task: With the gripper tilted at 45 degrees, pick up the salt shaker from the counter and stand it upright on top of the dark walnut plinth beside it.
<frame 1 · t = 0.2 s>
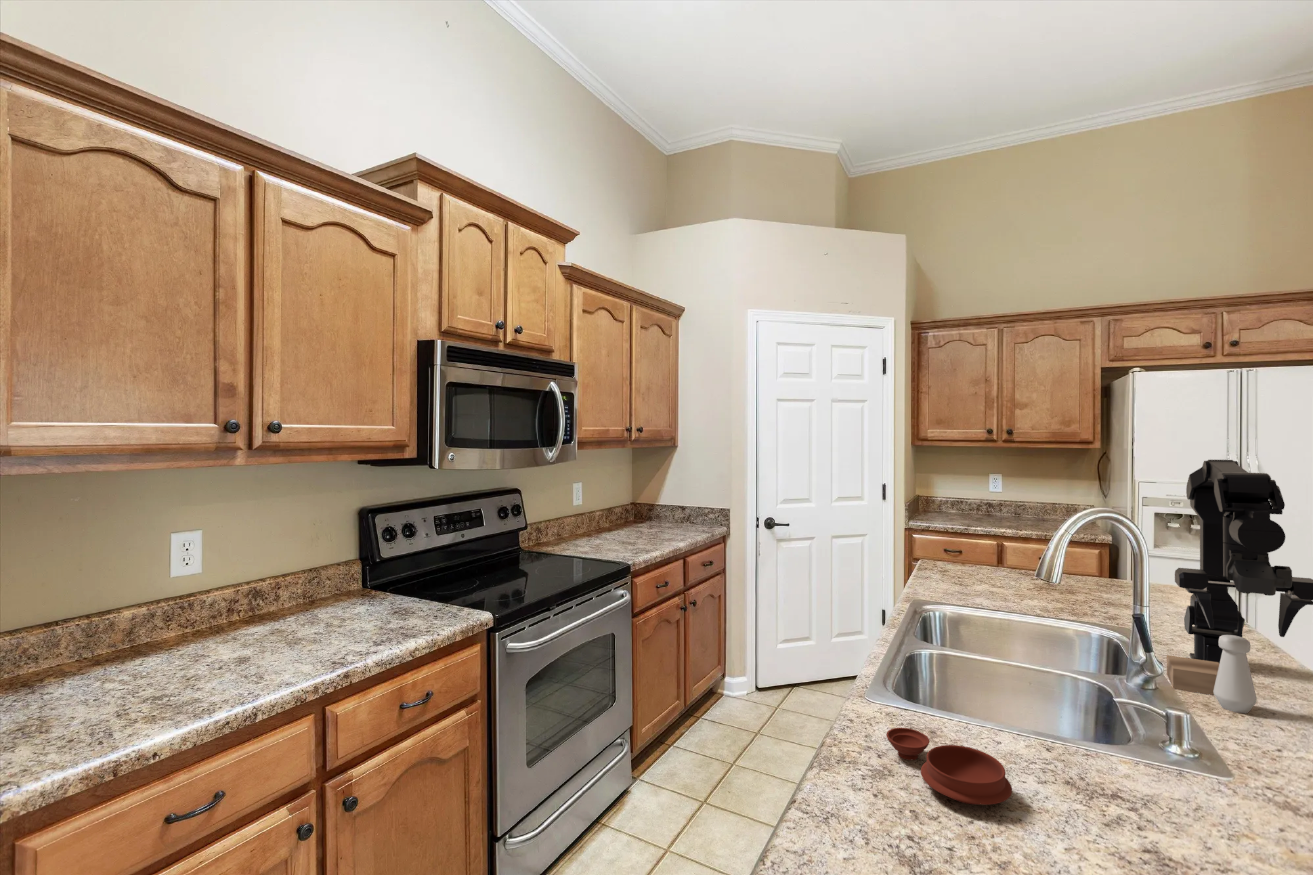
hand: (1245, 632, 110), 15 cm above the countertop, tool pointing down, fingers open, 9 cm apart
salt shaker: (1234, 709, 113), on the countertop
walnut plinth: (1196, 685, 123), on the countertop
pottery: (942, 779, 93), on the countertop
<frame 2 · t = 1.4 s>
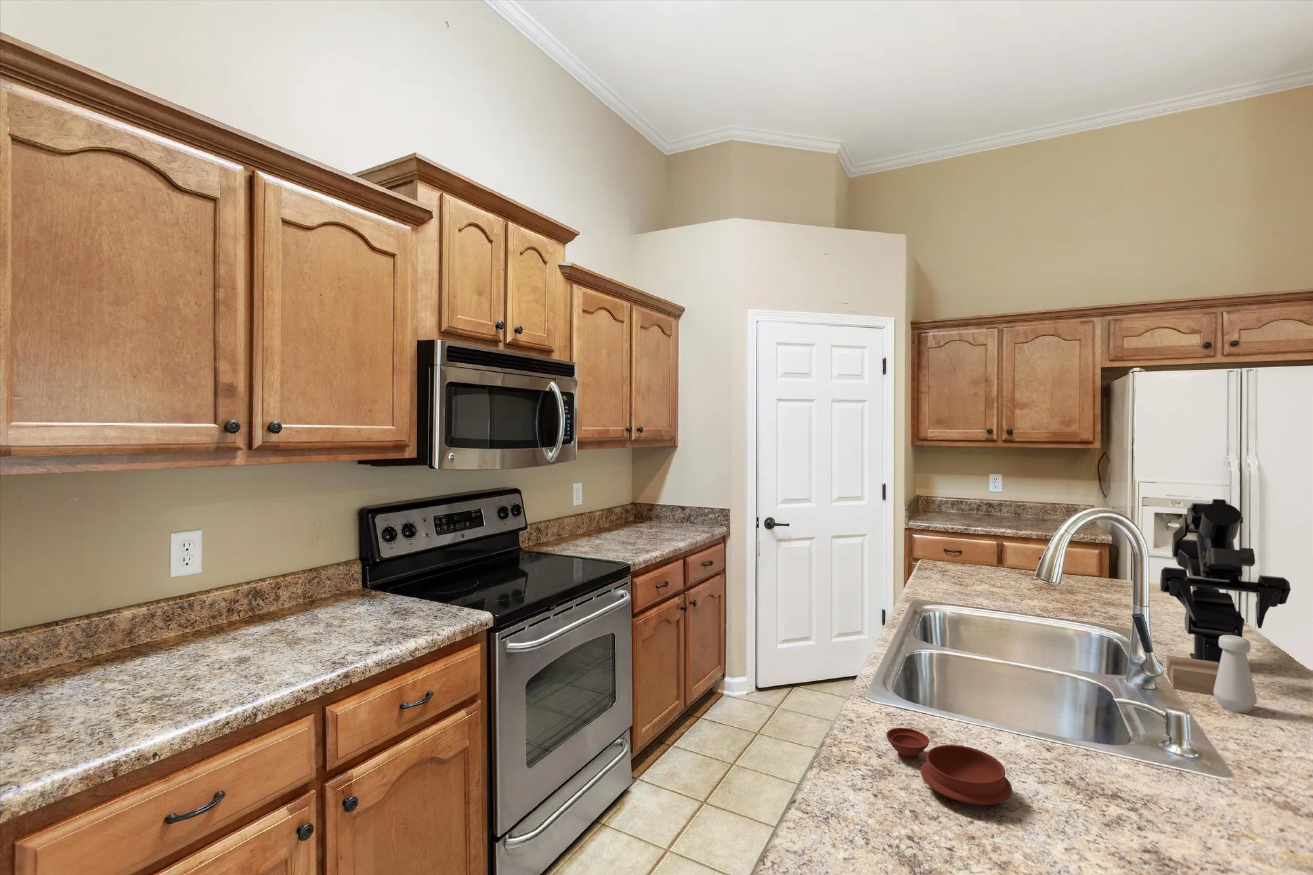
hand: (1227, 623, 119), 13 cm above the countertop, tool tilted 45°, fingers open, 9 cm apart
nothing on the countertop moved.
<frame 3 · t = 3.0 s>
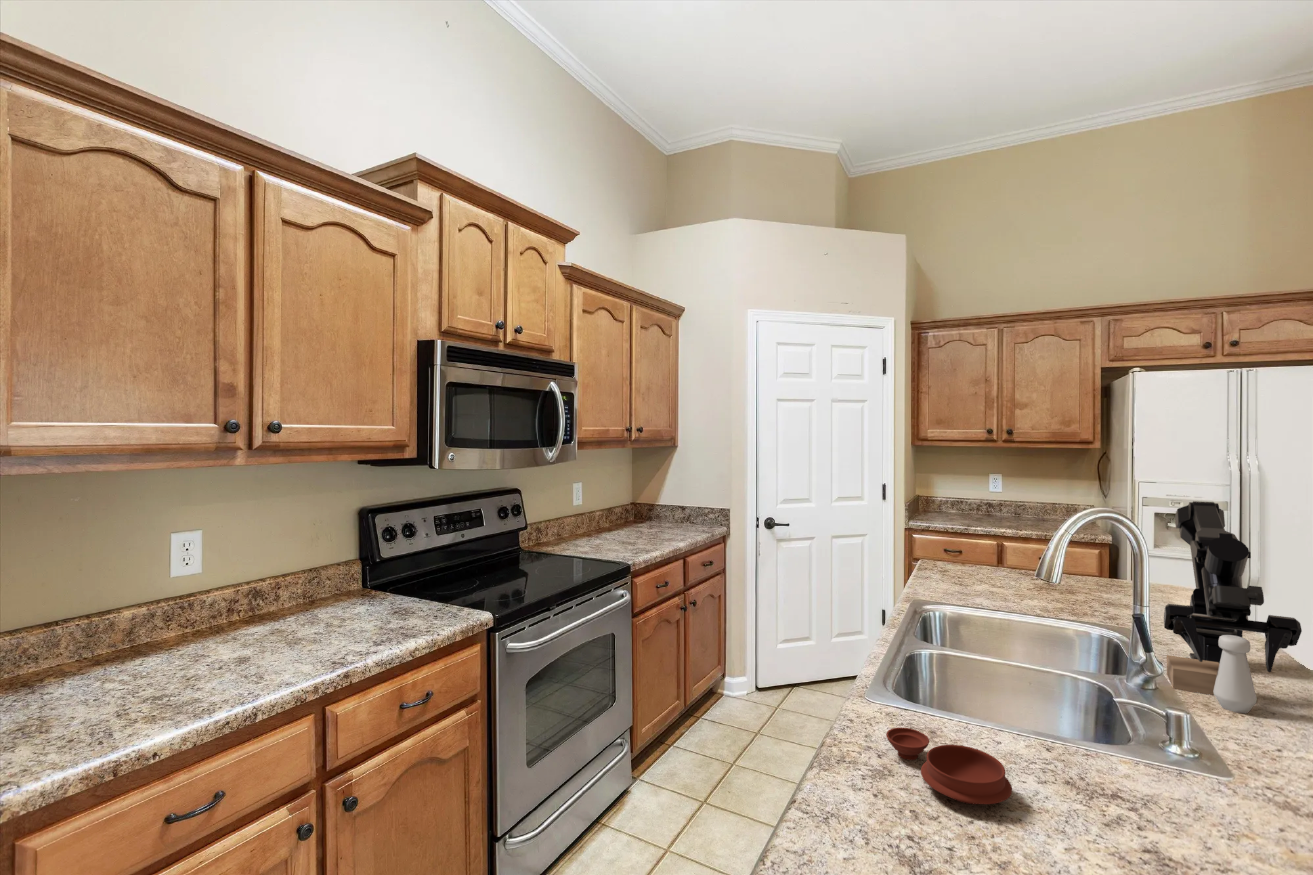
hand: (1234, 665, 113), 8 cm above the countertop, tool tilted 45°, fingers open, 9 cm apart
nothing on the countertop moved.
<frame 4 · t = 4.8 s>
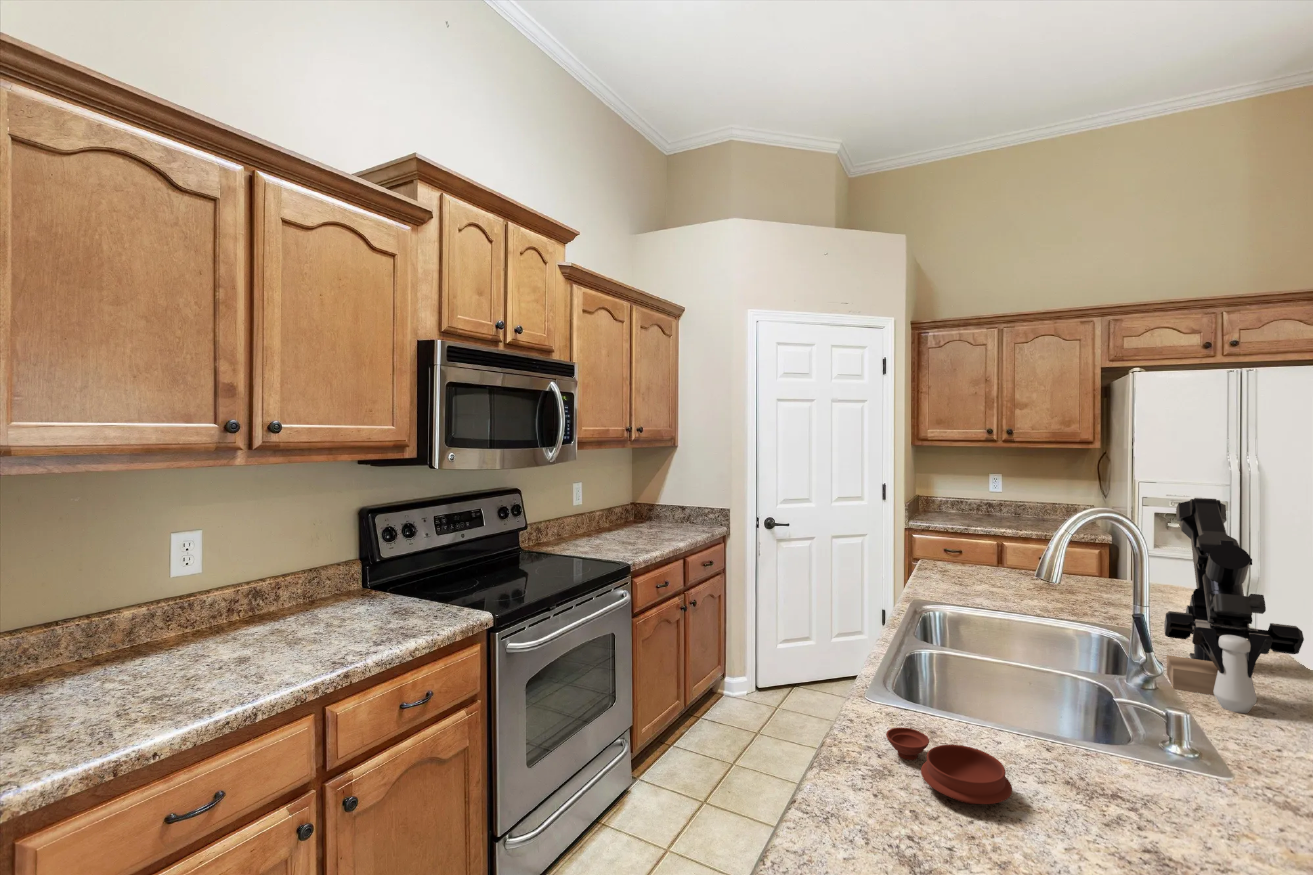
hand: (1235, 674, 112), 7 cm above the countertop, tool tilted 45°, fingers closed on salt shaker, 3 cm apart
salt shaker: (1234, 709, 113), on the countertop, touching gripper
everything else where it was.
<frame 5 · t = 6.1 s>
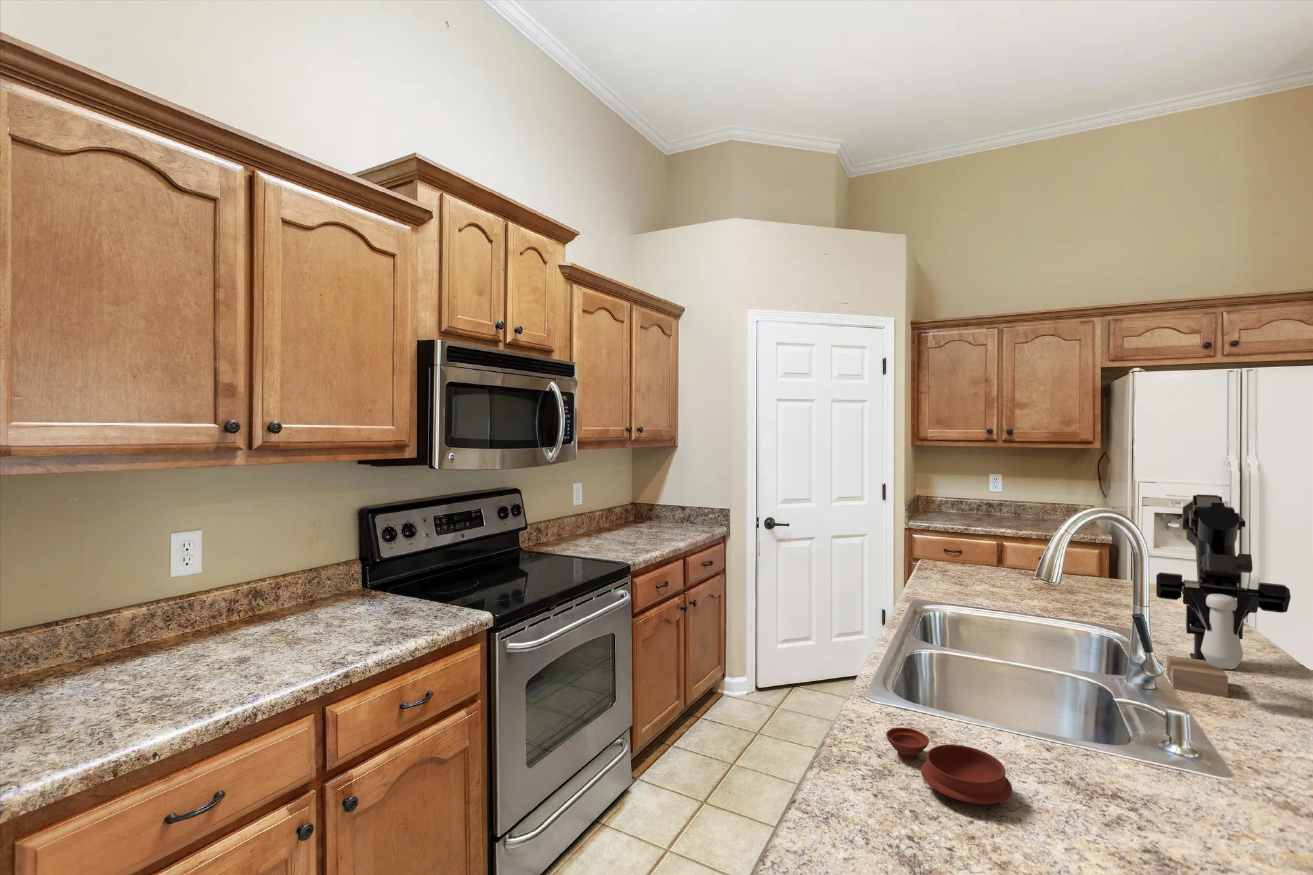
hand: (1222, 631, 115), 13 cm above the countertop, tool tilted 45°, fingers closed on salt shaker, 3 cm apart
salt shaker: (1221, 665, 116), point 7 cm above the countertop, touching gripper
everything else where it was.
when the fingers open (11 cm above the countertop, at t = 7.7 s): salt shaker stays where it is, resting on walnut plinth.
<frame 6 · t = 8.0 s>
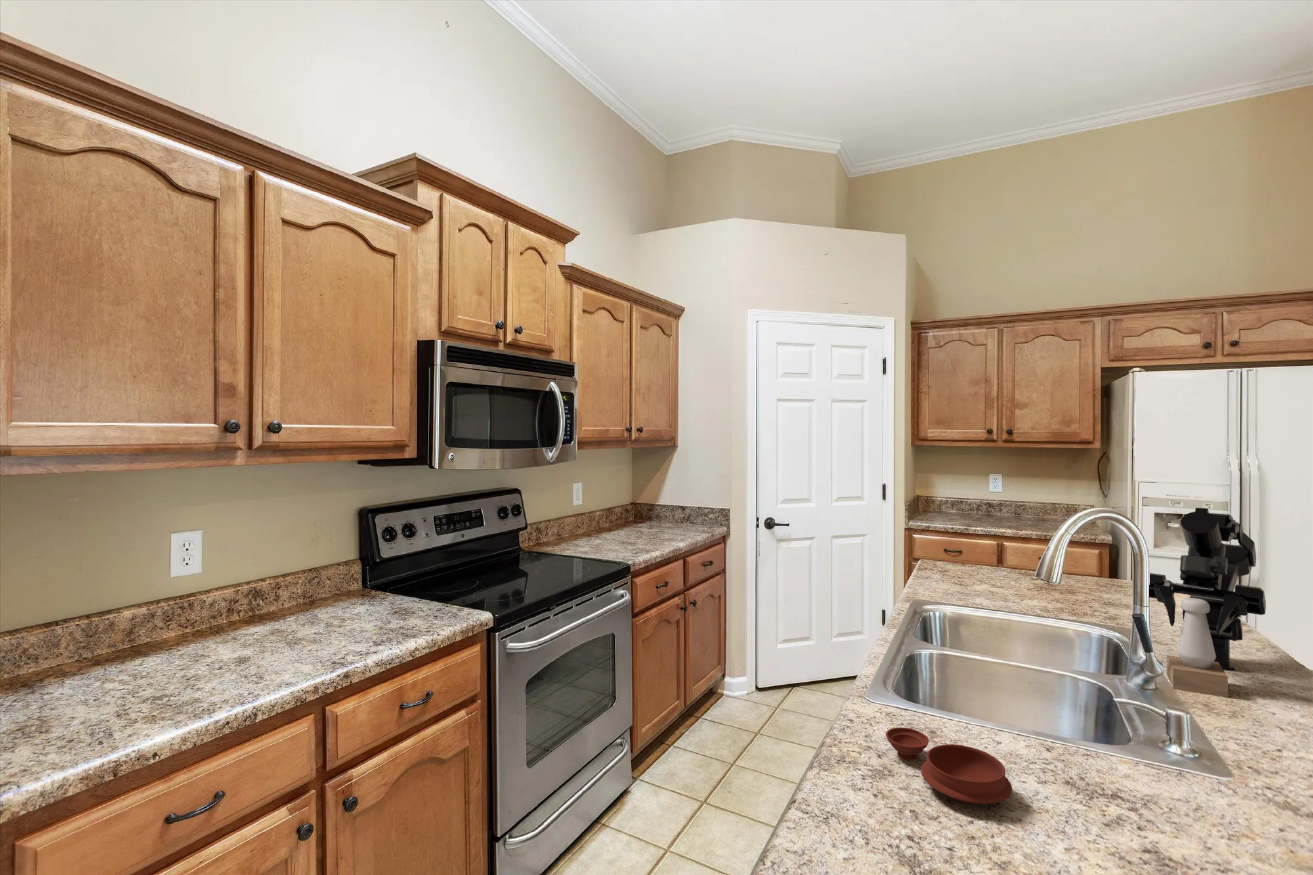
hand: (1194, 628, 122), 12 cm above the countertop, tool tilted 45°, fingers open, 7 cm apart
salt shaker: (1195, 665, 123), point 4 cm above the countertop, touching walnut plinth
everything else where it was.
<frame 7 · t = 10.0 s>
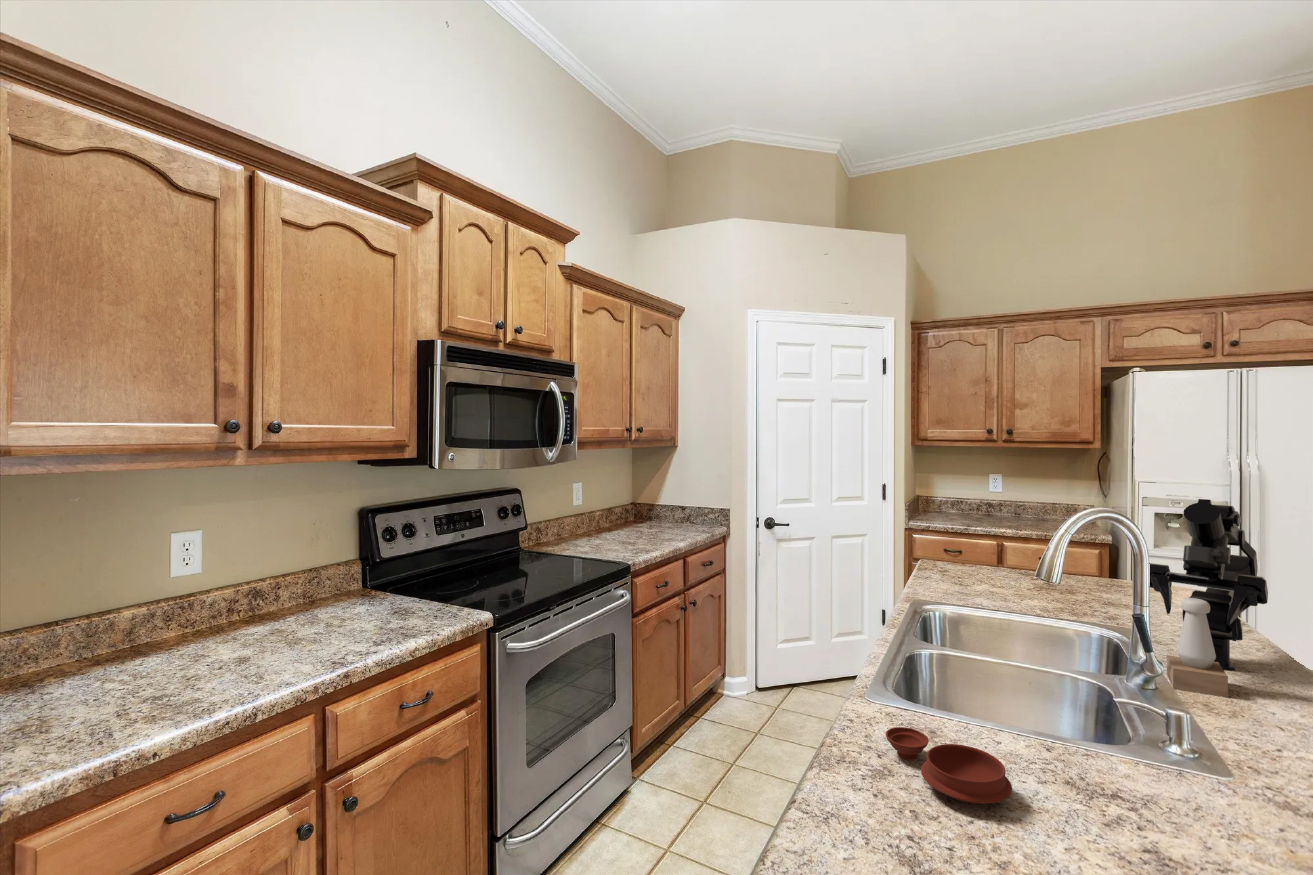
hand: (1197, 617, 124), 13 cm above the countertop, tool tilted 45°, fingers open, 9 cm apart
nothing on the countertop moved.
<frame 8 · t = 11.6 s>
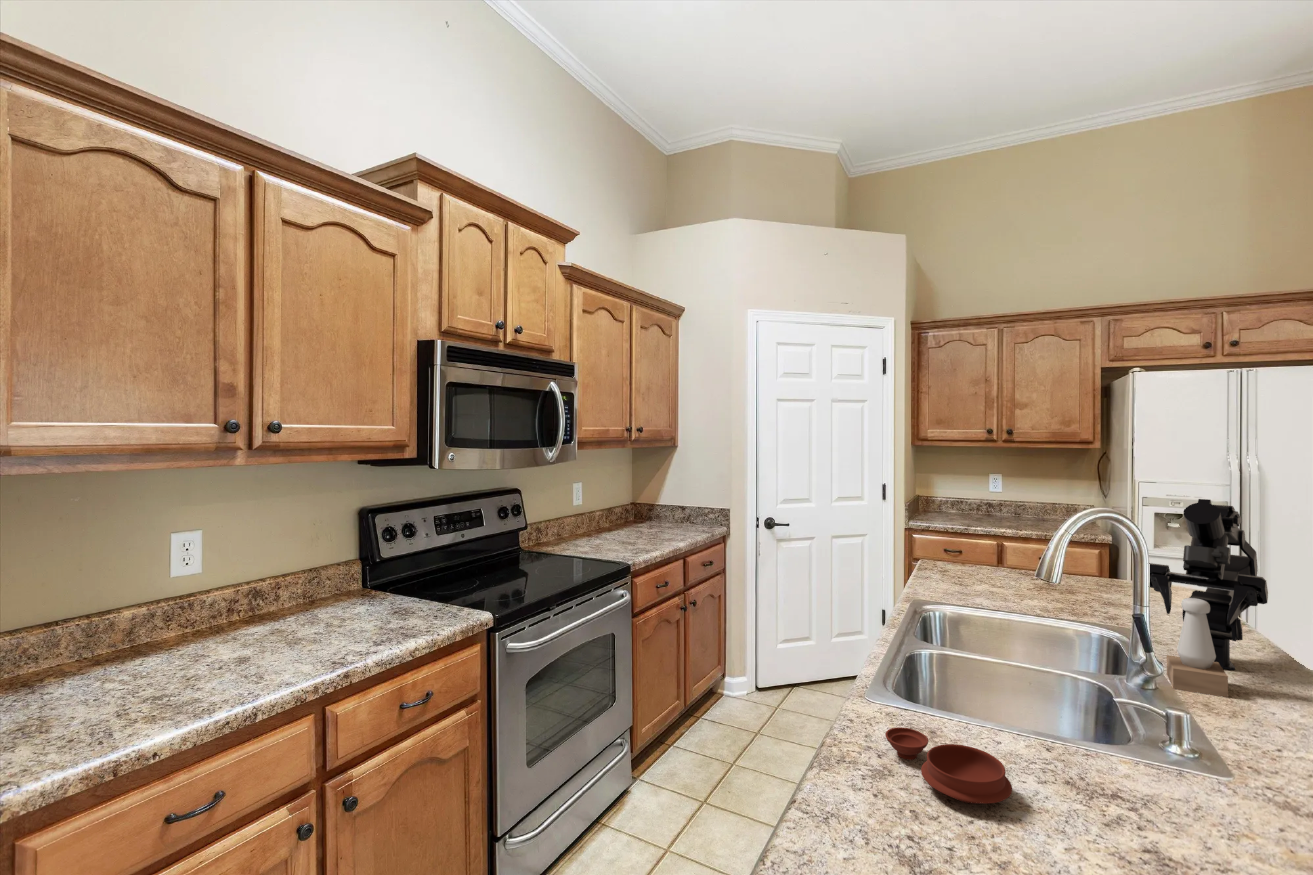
hand: (1197, 617, 124), 13 cm above the countertop, tool tilted 45°, fingers open, 9 cm apart
nothing on the countertop moved.
at the end: salt shaker 0.2 cm off-centre on the walnut plinth, point 3.8 cm above the walnut plinth's base; salt shaker tilted 0°; the gripper is holding nothing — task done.
